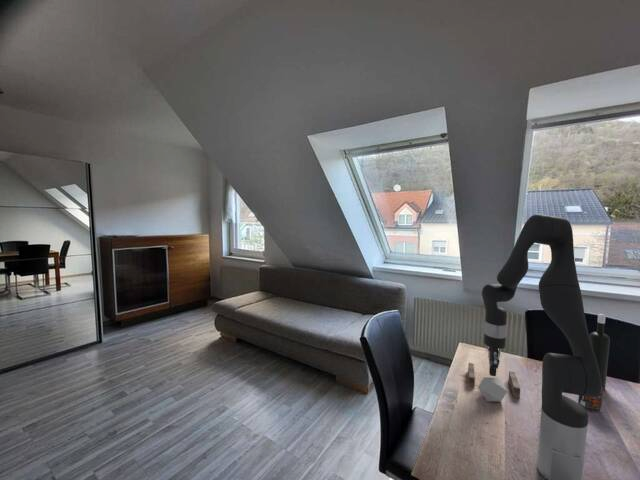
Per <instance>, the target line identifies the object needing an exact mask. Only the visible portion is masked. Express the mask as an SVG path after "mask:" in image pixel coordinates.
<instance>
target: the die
mask: <svg viewBox="0 0 640 480" xmlns="http://www.w3.org/2000/svg"><path fill="white" fill-rule="evenodd" d="M477 389H478V390H479V392H480V393H481V395H482V396H483V398H484V399H485V401H486V402H495V403H496V402H497V403H498V402H500V403H501V402H502V401H503V399H504V398H505V396H506V395H507V394H508V390H507V388H506V387H505V386H504V384H503V383H502V381H501V380H500V379H499V378H498V377H492V376H491V377H489V376H488V377H485V376H484V377H483V378H482V380H481V381H480V383H479V385H478V387H477Z"/></svg>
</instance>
